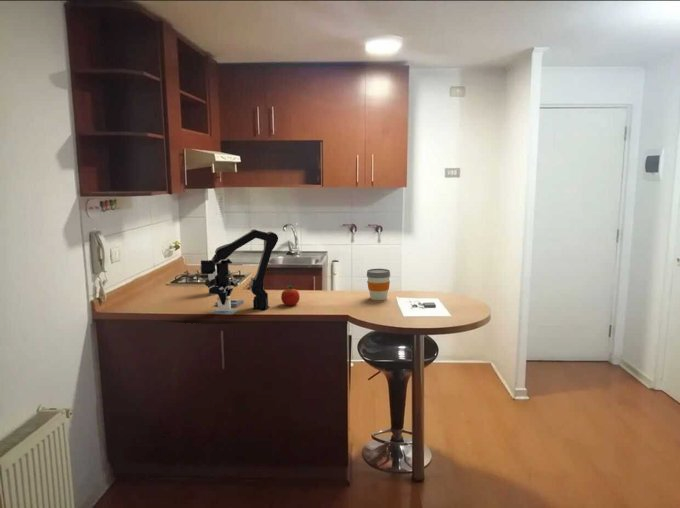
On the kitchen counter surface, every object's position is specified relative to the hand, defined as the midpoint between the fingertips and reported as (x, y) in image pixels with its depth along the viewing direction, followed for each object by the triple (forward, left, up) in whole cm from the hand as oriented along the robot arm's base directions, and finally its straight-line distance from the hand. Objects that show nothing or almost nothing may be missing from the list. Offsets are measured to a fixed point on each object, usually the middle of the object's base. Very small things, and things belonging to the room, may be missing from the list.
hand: (224, 304), depth 247 cm
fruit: (-27, -20, -4) cm, 34 cm away
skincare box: (+23, -36, -4) cm, 43 cm away
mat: (0, 0, -4) cm, 4 cm away
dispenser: (+4, -13, -4) cm, 14 cm away
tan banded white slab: (0, 0, -3) cm, 3 cm away
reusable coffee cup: (-69, -42, -4) cm, 81 cm away
